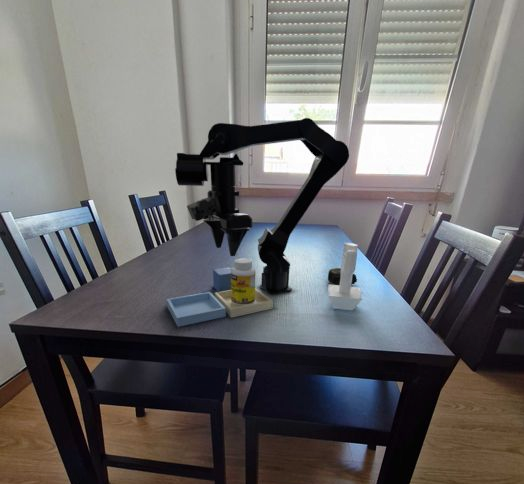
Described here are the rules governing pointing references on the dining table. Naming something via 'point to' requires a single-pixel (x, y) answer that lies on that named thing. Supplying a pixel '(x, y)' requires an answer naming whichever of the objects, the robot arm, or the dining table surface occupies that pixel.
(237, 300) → the supplement bottle
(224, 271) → the blue block
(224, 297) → the cream tray
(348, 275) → the white joystick
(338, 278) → the tape measure
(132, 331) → the dining table surface
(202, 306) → the blue tray
